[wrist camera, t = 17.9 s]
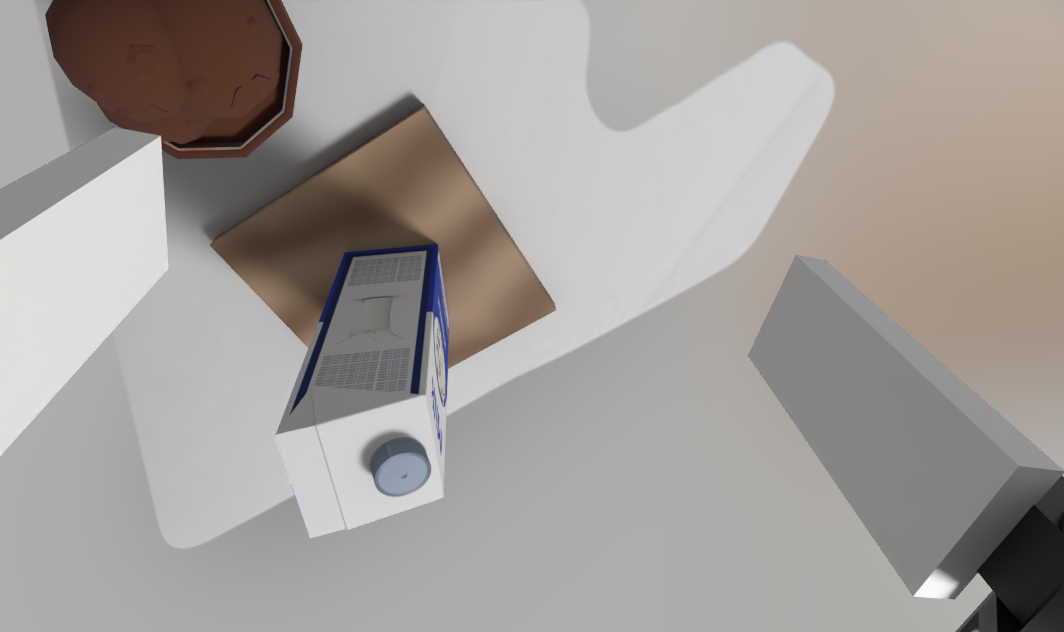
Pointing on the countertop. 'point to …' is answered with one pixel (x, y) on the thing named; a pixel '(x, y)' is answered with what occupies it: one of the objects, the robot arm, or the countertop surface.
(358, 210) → the walnut board
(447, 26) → the countertop surface
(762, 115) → the countertop surface
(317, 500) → the milk carton
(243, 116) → the ice cream bowl
